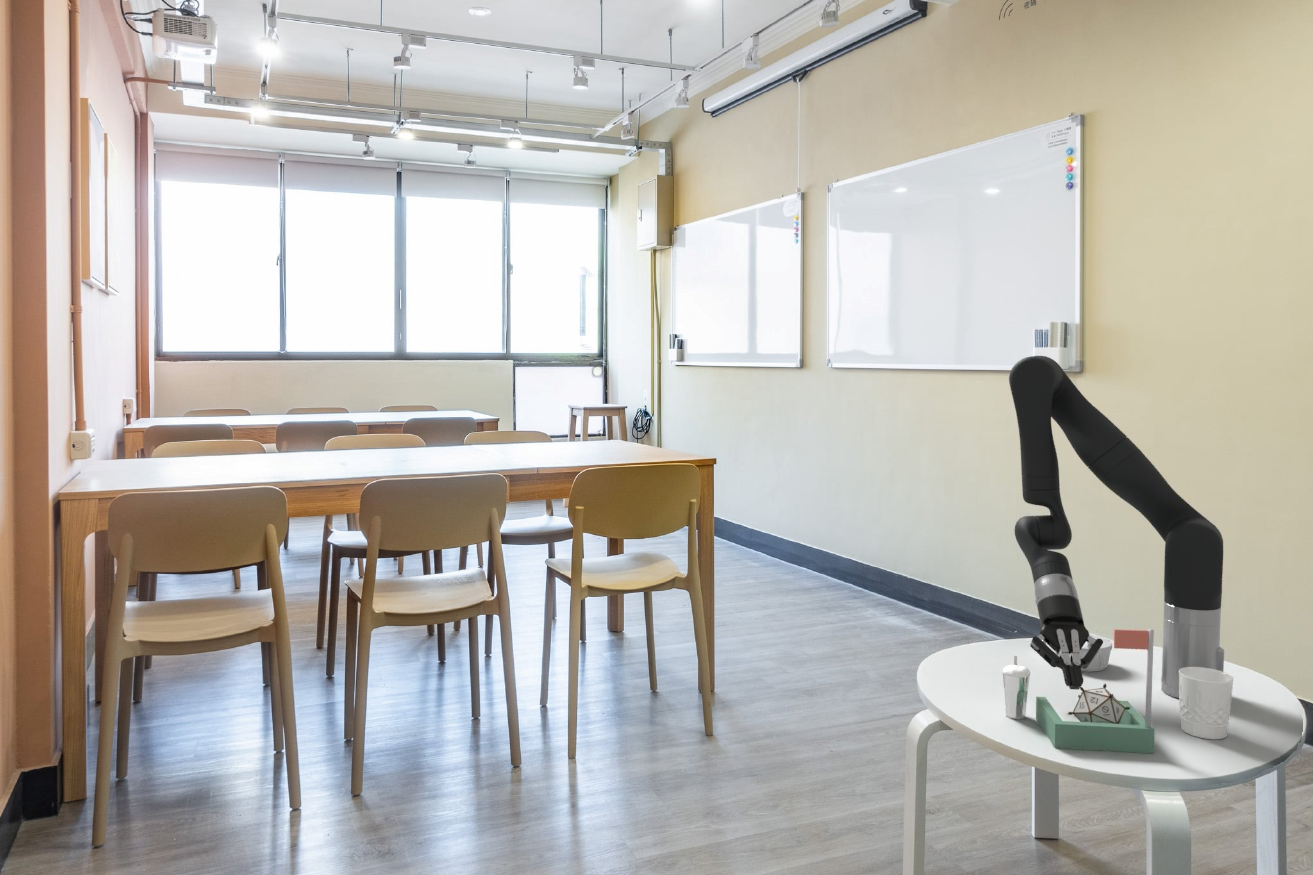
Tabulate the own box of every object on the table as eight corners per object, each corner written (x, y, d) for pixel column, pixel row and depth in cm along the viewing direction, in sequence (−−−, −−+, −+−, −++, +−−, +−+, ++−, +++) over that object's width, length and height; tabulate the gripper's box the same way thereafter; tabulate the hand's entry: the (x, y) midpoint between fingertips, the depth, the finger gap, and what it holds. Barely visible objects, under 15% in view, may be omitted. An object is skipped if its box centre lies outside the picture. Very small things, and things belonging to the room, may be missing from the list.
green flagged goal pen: (1126, 723, 156) (1130, 610, 155) (1153, 753, 144) (1157, 631, 142) (1035, 718, 159) (1038, 607, 157) (1054, 747, 146) (1057, 627, 145)
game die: (1096, 750, 154) (1109, 695, 158) (1132, 751, 146) (1146, 694, 150) (1052, 726, 153) (1067, 672, 157) (1087, 727, 145) (1101, 669, 149)
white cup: (1231, 745, 147) (1233, 685, 146) (1175, 735, 151) (1177, 677, 150) (1230, 728, 153) (1233, 671, 153) (1177, 719, 158) (1179, 664, 157)
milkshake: (1028, 711, 162) (1029, 657, 161) (1030, 722, 157) (1031, 666, 156) (1001, 708, 164) (1002, 654, 163) (1002, 719, 159) (1003, 663, 158)
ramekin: (1042, 664, 188) (1043, 640, 187) (1065, 653, 195) (1066, 629, 195) (1098, 678, 179) (1099, 652, 179) (1119, 665, 187) (1120, 640, 187)
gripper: (1025, 592, 171) (1040, 676, 159) (1099, 593, 168) (1120, 679, 157) (1018, 612, 176) (1032, 695, 165) (1089, 614, 174) (1109, 698, 163)
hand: (1075, 687), depth 161 cm, fingers closed
